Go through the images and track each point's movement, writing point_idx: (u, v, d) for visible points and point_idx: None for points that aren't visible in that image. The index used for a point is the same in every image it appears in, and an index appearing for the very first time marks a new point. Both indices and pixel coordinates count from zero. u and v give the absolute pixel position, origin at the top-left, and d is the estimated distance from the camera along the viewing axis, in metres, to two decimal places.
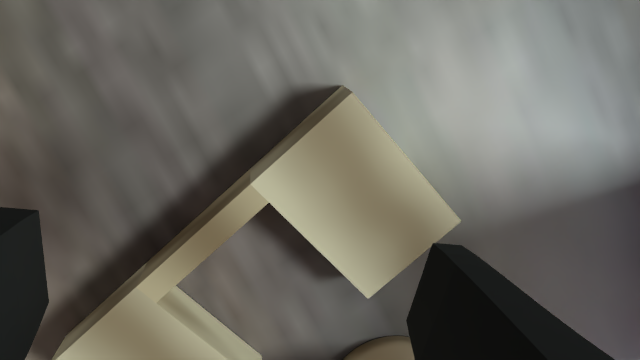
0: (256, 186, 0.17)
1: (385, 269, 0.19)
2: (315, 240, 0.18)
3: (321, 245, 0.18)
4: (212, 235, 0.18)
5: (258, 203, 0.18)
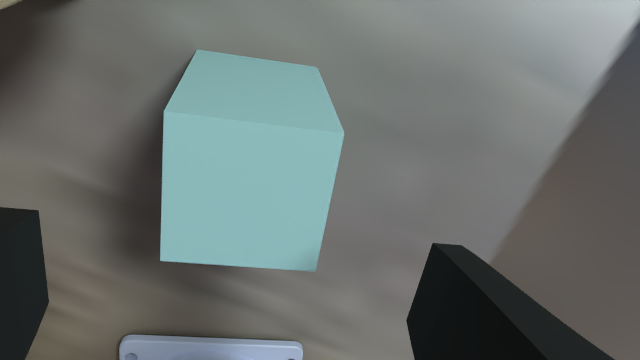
0: None
1: None
2: None
3: None
4: None
5: None
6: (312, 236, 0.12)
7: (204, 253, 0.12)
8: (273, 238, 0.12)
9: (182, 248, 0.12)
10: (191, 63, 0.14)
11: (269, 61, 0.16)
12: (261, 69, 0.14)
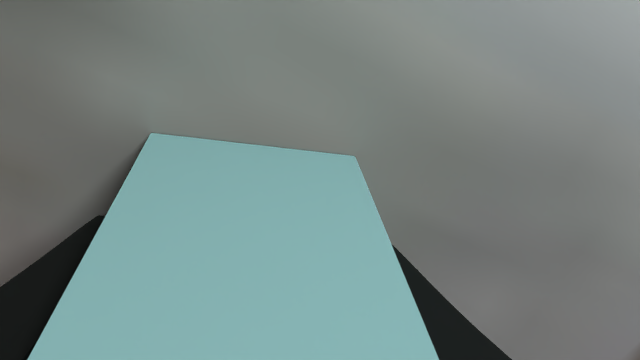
0: None
1: None
2: None
3: None
4: None
5: None
6: None
7: None
8: None
9: None
10: (130, 177, 0.07)
11: (276, 151, 0.09)
12: (261, 177, 0.08)
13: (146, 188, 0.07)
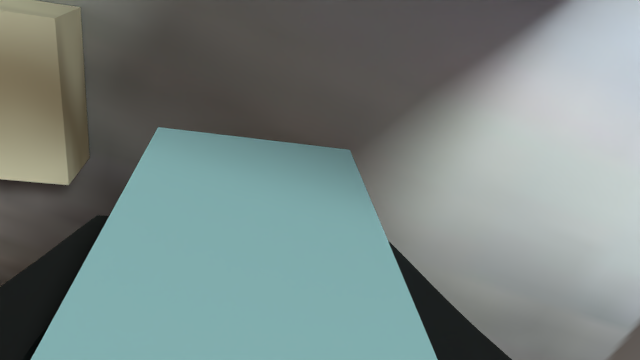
0: None
1: (45, 142, 0.14)
2: None
3: None
4: None
5: None
6: None
7: None
8: None
9: None
10: (140, 165, 0.08)
11: (275, 145, 0.10)
12: (262, 167, 0.09)
13: (155, 175, 0.08)
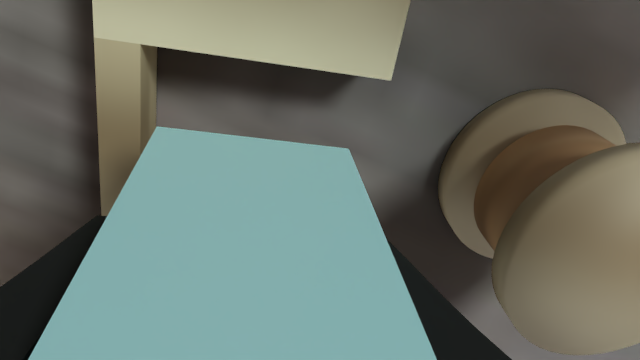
0: (104, 34, 0.11)
1: (382, 19, 0.11)
2: (248, 51, 0.11)
3: (261, 52, 0.11)
4: (119, 139, 0.12)
5: (130, 56, 0.11)
6: None
7: None
8: None
9: None
10: (138, 164, 0.08)
11: (274, 143, 0.10)
12: (260, 166, 0.09)
13: (154, 174, 0.08)
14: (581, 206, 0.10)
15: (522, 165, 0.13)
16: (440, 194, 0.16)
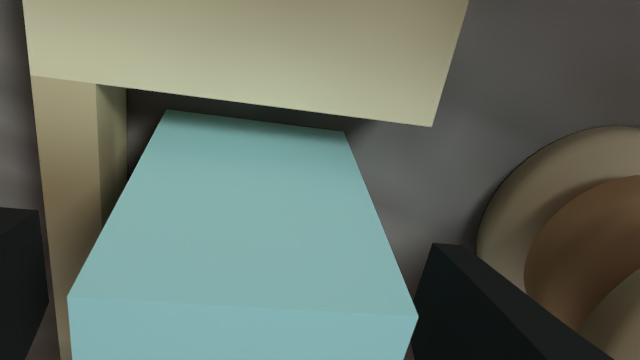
0: (44, 70, 0.08)
1: (424, 49, 0.08)
2: (243, 91, 0.08)
3: (260, 92, 0.08)
4: (72, 205, 0.09)
5: (81, 99, 0.08)
6: None
7: None
8: None
9: None
10: (151, 142, 0.09)
11: (274, 126, 0.11)
12: (262, 145, 0.09)
13: (166, 150, 0.09)
14: None
15: (595, 230, 0.10)
16: (479, 251, 0.13)
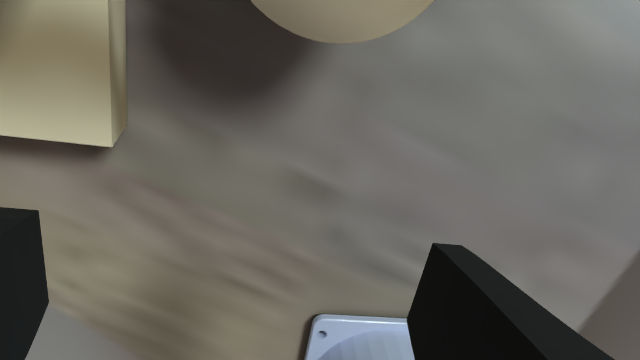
0: None
1: None
2: None
3: None
4: None
5: None
6: None
7: None
8: None
9: None
10: None
11: None
12: None
13: None
14: None
15: None
16: None
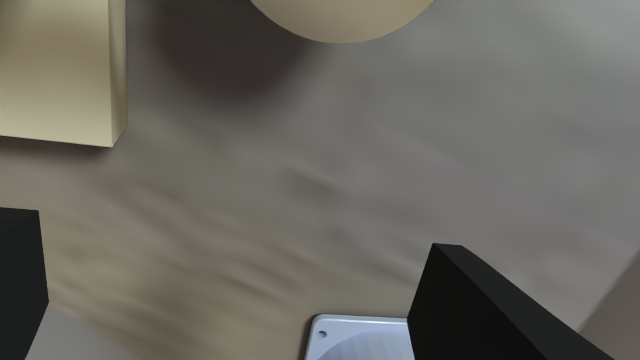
0: None
1: None
2: None
3: None
4: None
5: None
6: None
7: None
8: None
9: None
10: None
11: None
12: None
13: None
14: None
15: None
16: None
